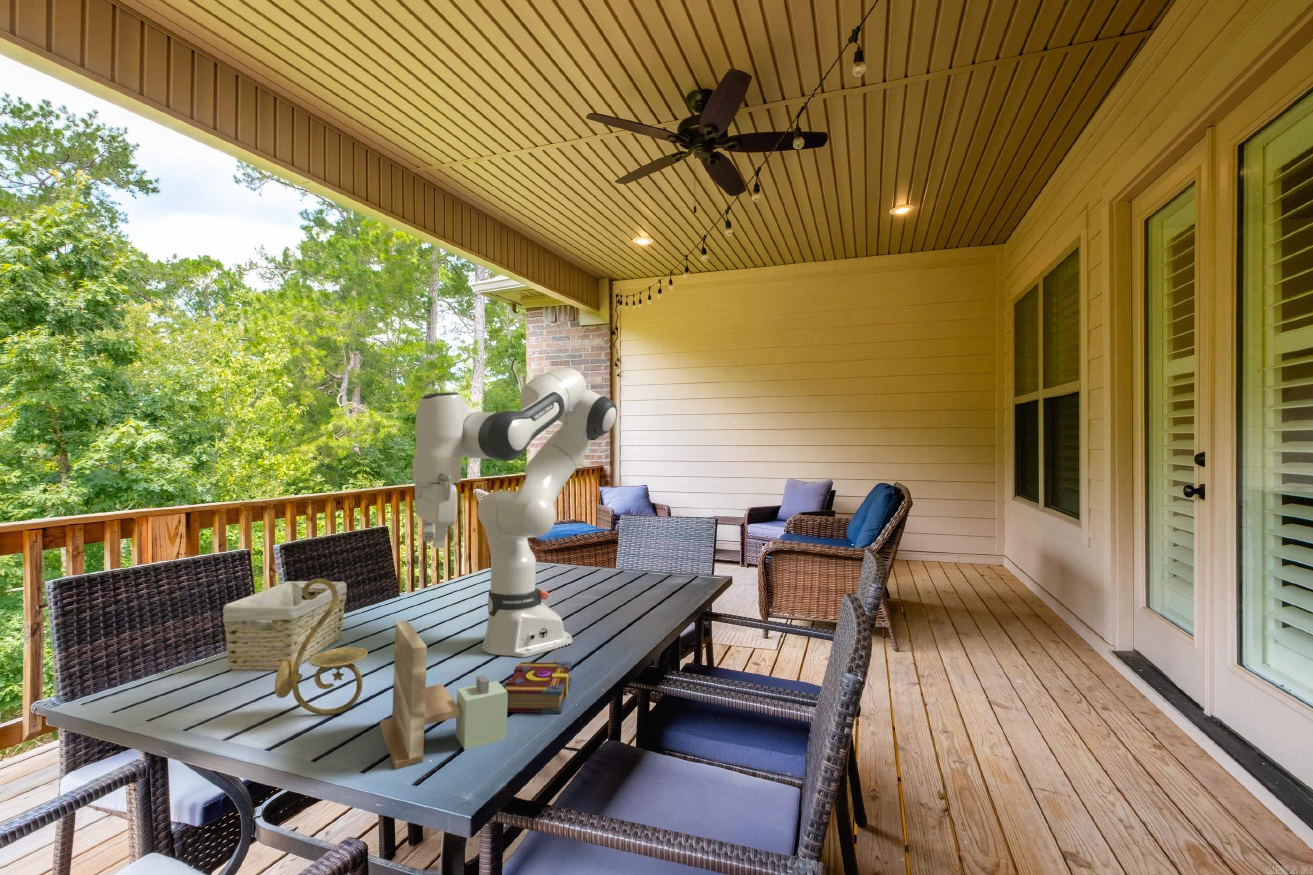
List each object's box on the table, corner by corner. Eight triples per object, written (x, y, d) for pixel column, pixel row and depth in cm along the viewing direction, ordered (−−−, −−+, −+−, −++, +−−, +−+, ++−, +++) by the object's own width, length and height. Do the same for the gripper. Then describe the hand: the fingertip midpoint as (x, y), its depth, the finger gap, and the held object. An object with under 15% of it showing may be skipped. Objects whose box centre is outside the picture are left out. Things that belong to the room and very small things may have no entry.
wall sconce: (268, 728, 97) (274, 584, 98) (296, 704, 107) (301, 573, 108) (353, 725, 99) (358, 583, 100) (373, 701, 109) (377, 572, 109)
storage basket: (291, 674, 121) (294, 605, 122) (215, 673, 121) (218, 604, 121) (348, 637, 145) (350, 580, 146) (284, 637, 145) (286, 579, 145)
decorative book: (501, 714, 105) (502, 687, 105) (520, 679, 121) (520, 656, 122) (561, 715, 105) (562, 688, 106) (572, 680, 122) (573, 657, 122)
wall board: (438, 712, 105) (441, 615, 105) (461, 751, 92) (465, 640, 92) (379, 725, 99) (383, 623, 100) (395, 769, 86) (399, 651, 87)
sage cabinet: (501, 724, 101) (502, 668, 101) (511, 737, 97) (513, 678, 97) (455, 735, 97) (457, 677, 97) (464, 749, 92) (466, 688, 92)
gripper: (467, 475, 103) (463, 551, 102) (442, 472, 120) (438, 537, 119) (431, 475, 99) (426, 553, 99) (410, 471, 116) (407, 538, 116)
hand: (433, 544), depth 109 cm, fingers open, 8 cm apart
